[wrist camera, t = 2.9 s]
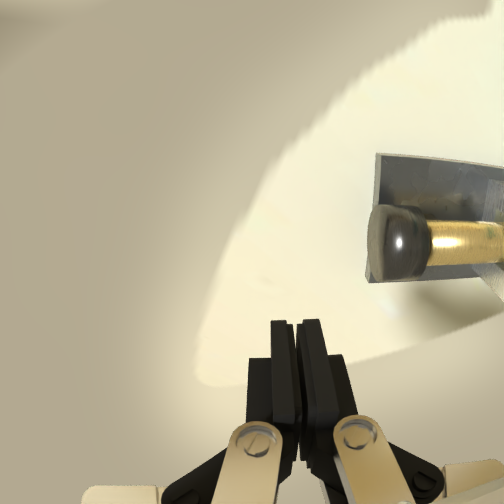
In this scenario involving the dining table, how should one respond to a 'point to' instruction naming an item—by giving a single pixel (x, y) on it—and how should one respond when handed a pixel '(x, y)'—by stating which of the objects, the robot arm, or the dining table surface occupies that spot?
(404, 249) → the shaft
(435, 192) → the rig
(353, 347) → the dining table surface
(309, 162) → the dining table surface
